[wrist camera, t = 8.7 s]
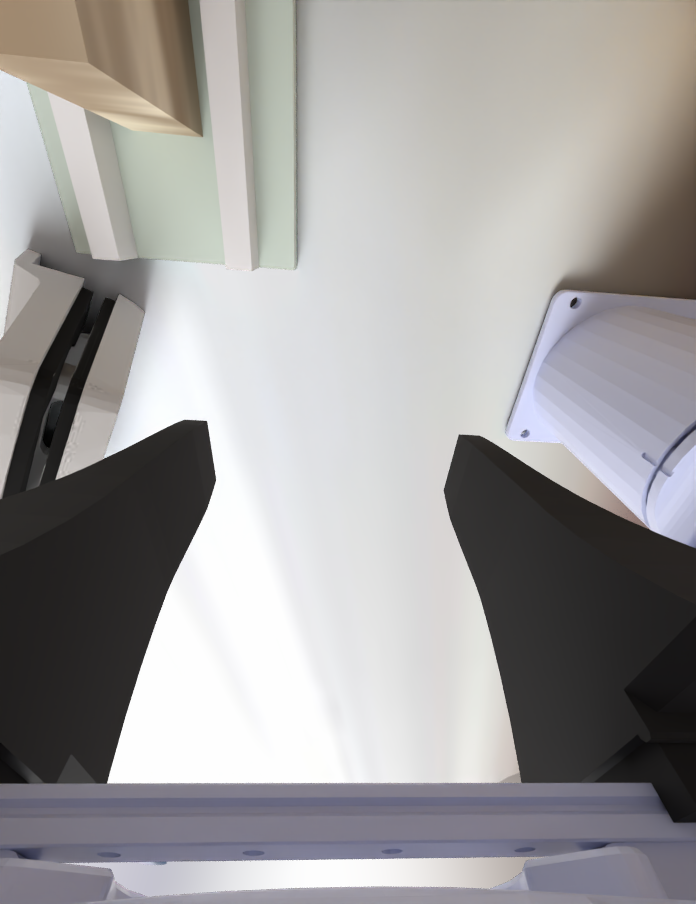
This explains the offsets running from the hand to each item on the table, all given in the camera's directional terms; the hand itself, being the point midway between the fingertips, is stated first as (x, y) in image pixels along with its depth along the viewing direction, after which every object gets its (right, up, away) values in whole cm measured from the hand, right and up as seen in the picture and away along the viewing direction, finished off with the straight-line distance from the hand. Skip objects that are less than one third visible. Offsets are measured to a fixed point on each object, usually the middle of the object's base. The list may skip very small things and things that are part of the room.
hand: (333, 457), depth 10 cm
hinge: (-15, +2, +10) cm, 18 cm away
